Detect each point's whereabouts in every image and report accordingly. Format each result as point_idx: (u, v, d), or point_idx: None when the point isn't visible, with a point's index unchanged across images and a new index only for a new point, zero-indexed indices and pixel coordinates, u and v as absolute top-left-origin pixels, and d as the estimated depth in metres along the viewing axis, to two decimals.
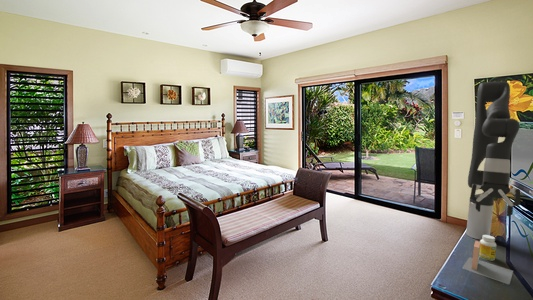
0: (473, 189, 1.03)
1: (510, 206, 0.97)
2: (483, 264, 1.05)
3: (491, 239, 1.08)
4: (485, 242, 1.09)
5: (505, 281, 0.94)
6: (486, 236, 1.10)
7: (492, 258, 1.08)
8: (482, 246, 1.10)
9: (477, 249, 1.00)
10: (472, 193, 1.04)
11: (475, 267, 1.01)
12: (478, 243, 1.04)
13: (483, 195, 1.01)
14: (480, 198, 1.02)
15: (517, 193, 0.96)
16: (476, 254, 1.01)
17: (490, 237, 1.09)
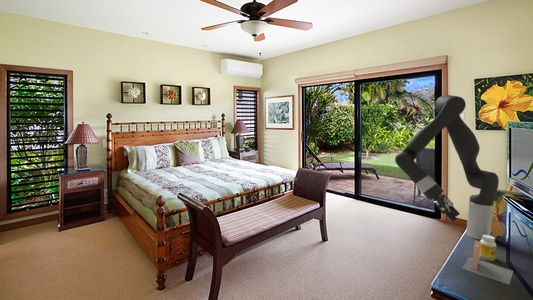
0: None
1: (446, 214, 1.16)
2: (483, 264, 1.05)
3: (491, 239, 1.08)
4: (485, 242, 1.09)
5: (505, 281, 0.94)
6: (486, 236, 1.10)
7: (492, 258, 1.08)
8: (482, 246, 1.10)
9: (477, 249, 1.00)
10: None
11: (475, 267, 1.01)
12: (478, 243, 1.04)
13: None
14: None
15: None
16: (476, 254, 1.01)
17: (490, 237, 1.09)
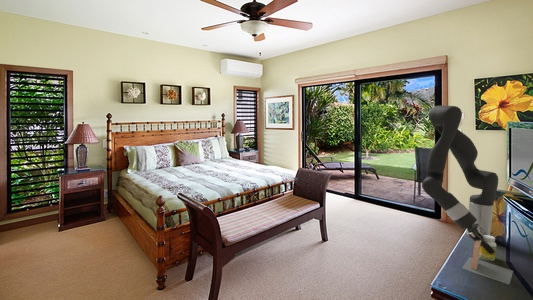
0: None
1: None
2: (483, 264, 1.05)
3: (491, 239, 1.08)
4: None
5: (505, 281, 0.94)
6: (486, 236, 1.10)
7: (492, 258, 1.08)
8: (482, 246, 1.10)
9: (477, 249, 1.00)
10: None
11: (475, 267, 1.01)
12: (478, 243, 1.04)
13: None
14: None
15: None
16: (476, 254, 1.01)
17: (490, 237, 1.09)
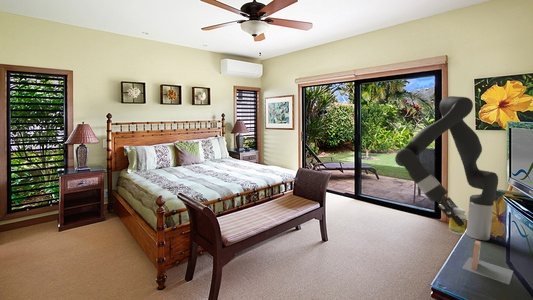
0: None
1: (452, 218, 1.06)
2: (483, 264, 1.05)
3: (461, 211, 1.05)
4: None
5: (505, 281, 0.94)
6: (456, 208, 1.07)
7: (461, 231, 1.05)
8: (452, 219, 1.07)
9: (477, 249, 1.00)
10: None
11: (475, 267, 1.01)
12: (478, 243, 1.04)
13: None
14: None
15: None
16: (476, 254, 1.01)
17: (460, 209, 1.06)
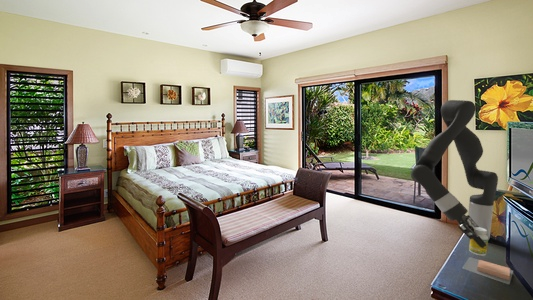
0: None
1: (473, 239, 1.01)
2: None
3: (482, 231, 1.00)
4: None
5: (505, 281, 0.94)
6: (477, 228, 1.02)
7: (483, 252, 1.00)
8: None
9: (506, 278, 0.95)
10: None
11: (480, 270, 1.00)
12: None
13: None
14: None
15: None
16: (498, 275, 0.97)
17: (481, 229, 1.01)
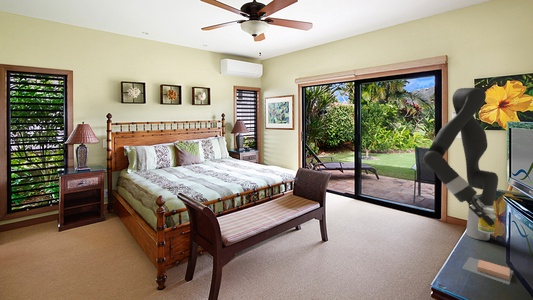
0: None
1: (482, 218, 1.09)
2: None
3: (491, 211, 1.08)
4: None
5: (505, 281, 0.94)
6: (486, 208, 1.10)
7: (492, 230, 1.08)
8: None
9: (506, 278, 0.95)
10: None
11: (480, 270, 1.00)
12: None
13: None
14: None
15: None
16: (498, 275, 0.97)
17: (490, 209, 1.09)
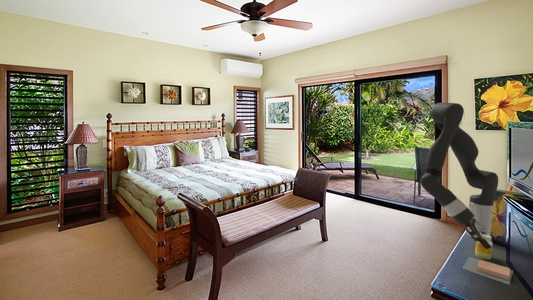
0: None
1: None
2: None
3: (487, 238, 1.09)
4: None
5: (505, 281, 0.94)
6: (482, 235, 1.11)
7: (488, 257, 1.09)
8: (478, 245, 1.11)
9: (506, 278, 0.95)
10: None
11: (480, 270, 1.00)
12: None
13: None
14: None
15: None
16: (498, 275, 0.97)
17: (486, 236, 1.10)
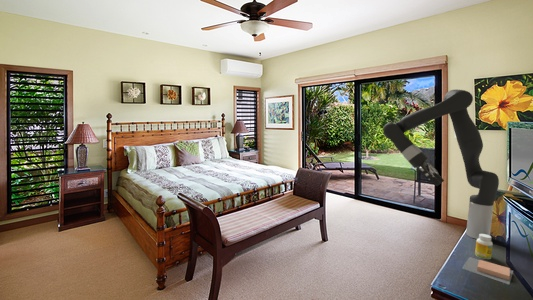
0: None
1: (430, 179, 1.20)
2: None
3: (487, 238, 1.09)
4: (481, 241, 1.10)
5: (505, 281, 0.94)
6: (483, 235, 1.11)
7: (488, 257, 1.09)
8: (478, 245, 1.11)
9: (506, 278, 0.95)
10: None
11: (480, 270, 1.00)
12: None
13: None
14: None
15: None
16: (498, 275, 0.97)
17: (486, 236, 1.10)
